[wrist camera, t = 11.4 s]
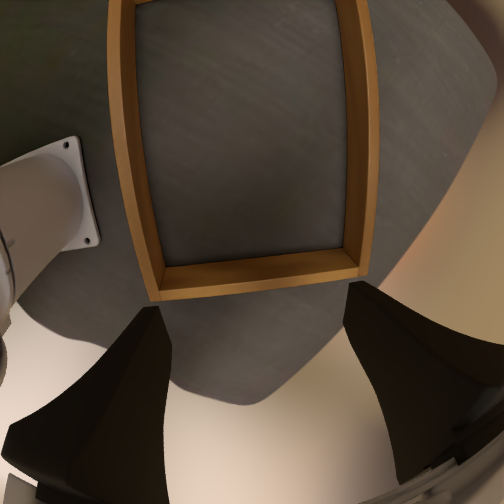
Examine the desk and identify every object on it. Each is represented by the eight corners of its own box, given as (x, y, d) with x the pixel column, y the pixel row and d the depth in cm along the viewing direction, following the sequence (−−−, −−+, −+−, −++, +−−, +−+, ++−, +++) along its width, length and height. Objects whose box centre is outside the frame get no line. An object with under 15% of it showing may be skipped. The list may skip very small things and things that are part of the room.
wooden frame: (158, 277, 19) (150, 302, 17) (125, 0, 10) (110, -17, 7) (350, 255, 20) (367, 275, 18) (342, -9, 11) (361, -24, 8)
